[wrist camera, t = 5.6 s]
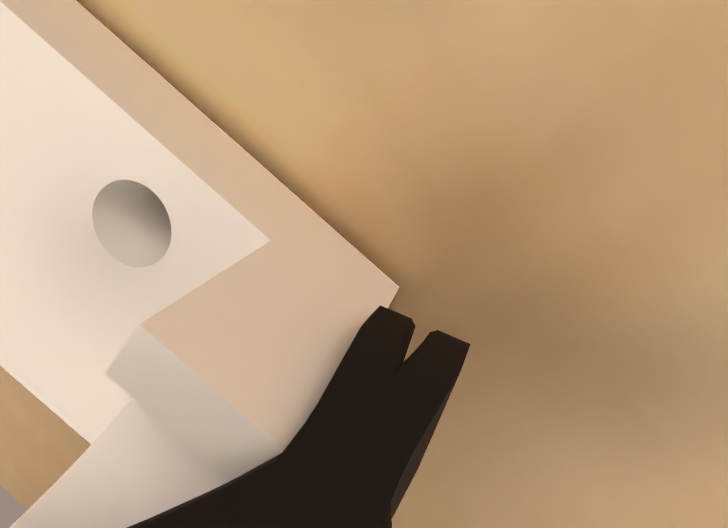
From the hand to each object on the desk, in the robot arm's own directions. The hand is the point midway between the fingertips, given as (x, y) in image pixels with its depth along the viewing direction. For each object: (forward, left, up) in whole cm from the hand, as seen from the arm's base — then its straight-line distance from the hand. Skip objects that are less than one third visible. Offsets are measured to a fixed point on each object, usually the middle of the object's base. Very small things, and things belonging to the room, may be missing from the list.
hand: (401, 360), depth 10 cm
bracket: (0, +8, -3) cm, 9 cm away
